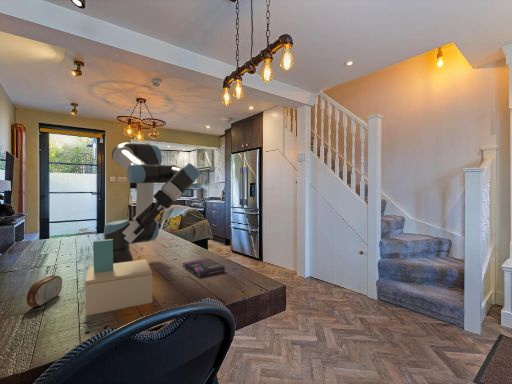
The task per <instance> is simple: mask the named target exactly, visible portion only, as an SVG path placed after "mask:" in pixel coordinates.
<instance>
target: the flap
mask: <svg viewBox="0 0 512 384" xmlns="http://www.w3.org/2000/svg"><path fill="white" fill-rule="evenodd" d="M92 243H93V245H92V246H93V247H92V248H93V253H92V254H93V265H90V266H88V270H87V274H86V277H85V280H84V285H85V284H90V283H97V282H103V281H110V280H116V279H123V278H129V277H136V276H142V275H149V274H152V275H153V271H152V268H151V267H150V264H149V262H148V260H147V259H139V260H133V261H129V262H121V263H114V264H113V239H108V240H104V239H99V240H93V242H92Z"/></svg>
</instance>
